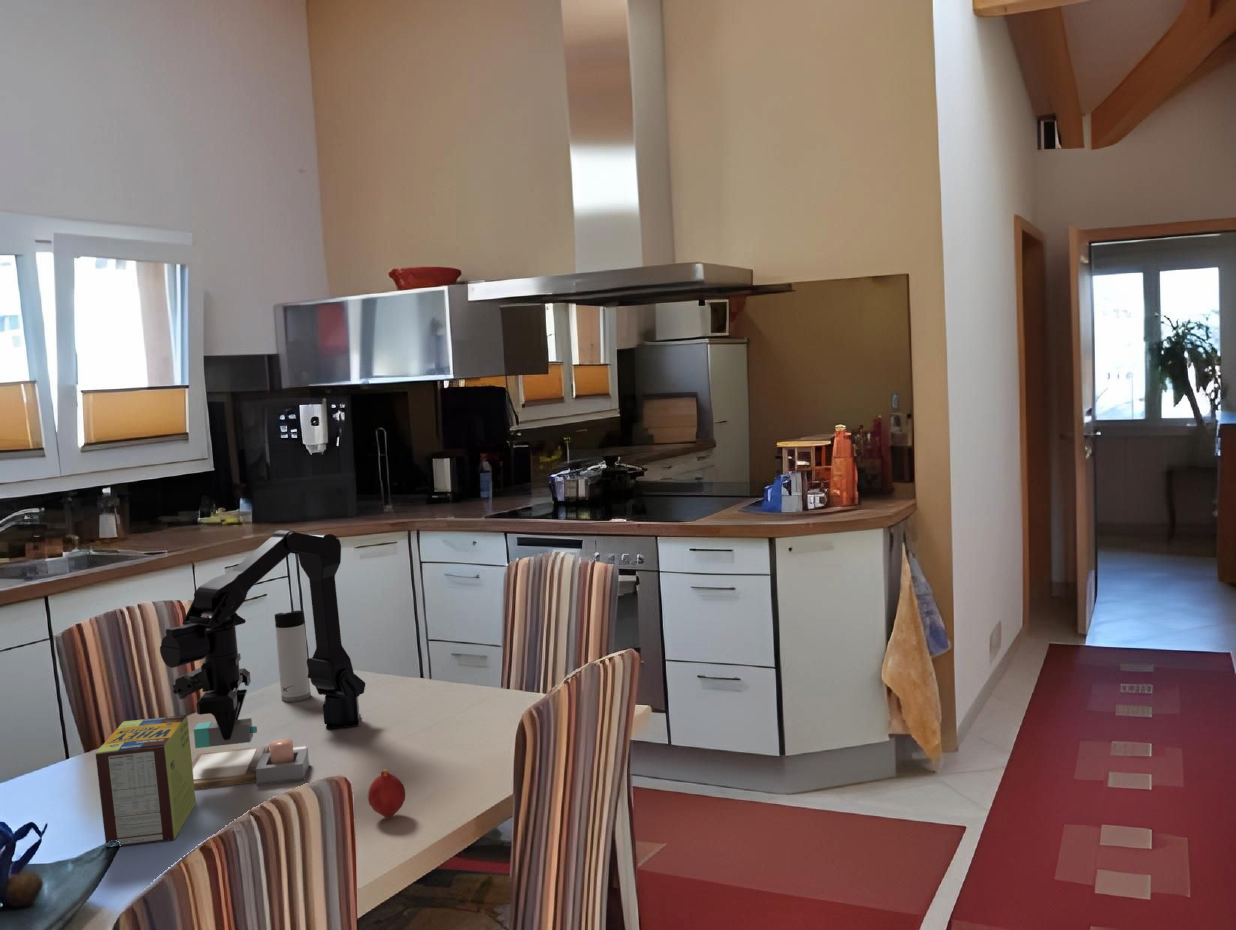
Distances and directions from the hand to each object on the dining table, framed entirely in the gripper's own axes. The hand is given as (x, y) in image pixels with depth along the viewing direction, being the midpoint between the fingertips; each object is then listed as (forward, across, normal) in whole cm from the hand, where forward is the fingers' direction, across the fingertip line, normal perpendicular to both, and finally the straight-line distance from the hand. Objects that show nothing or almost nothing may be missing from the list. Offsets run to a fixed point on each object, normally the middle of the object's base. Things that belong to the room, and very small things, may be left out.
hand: (229, 736), depth 197 cm
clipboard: (+6, 0, -1) cm, 6 cm away
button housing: (+6, +6, +10) cm, 13 cm away
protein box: (+6, +22, -9) cm, 25 cm away
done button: (+4, +6, +10) cm, 12 cm away
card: (+6, -5, +9) cm, 12 cm away
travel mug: (+7, -42, +6) cm, 43 cm away
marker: (+1, 0, -1) cm, 1 cm away
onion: (+6, +31, +29) cm, 43 cm away
